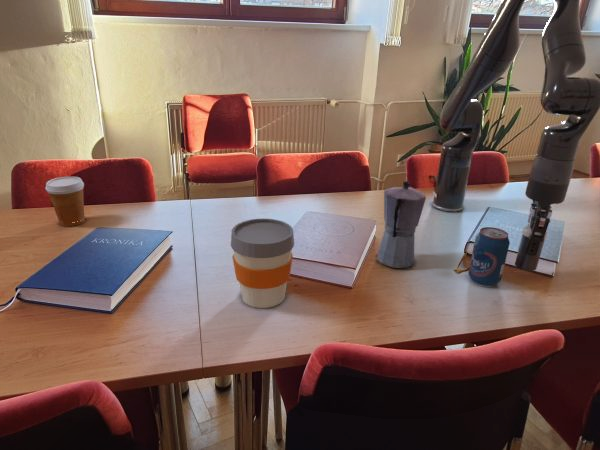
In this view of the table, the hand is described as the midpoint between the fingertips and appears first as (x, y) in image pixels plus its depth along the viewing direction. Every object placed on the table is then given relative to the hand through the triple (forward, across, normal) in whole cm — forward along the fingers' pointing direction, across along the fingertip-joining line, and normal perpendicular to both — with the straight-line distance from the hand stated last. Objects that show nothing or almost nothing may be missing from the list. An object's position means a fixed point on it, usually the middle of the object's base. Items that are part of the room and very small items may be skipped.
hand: (530, 249), depth 100 cm
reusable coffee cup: (+7, -33, +50) cm, 61 cm away
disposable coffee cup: (+8, -23, +116) cm, 119 cm away
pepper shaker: (+4, 0, 0) cm, 4 cm away
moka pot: (+7, -6, +28) cm, 30 cm away
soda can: (+7, -6, +8) cm, 13 cm away
